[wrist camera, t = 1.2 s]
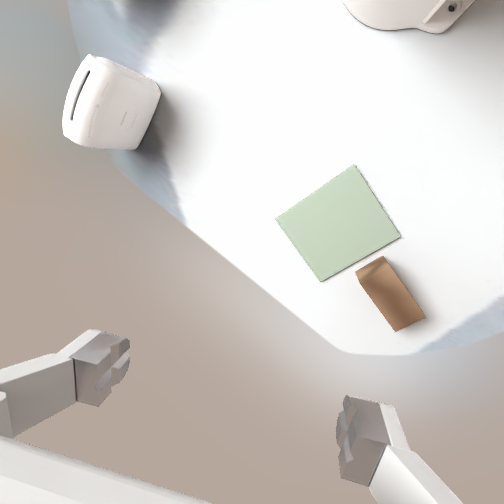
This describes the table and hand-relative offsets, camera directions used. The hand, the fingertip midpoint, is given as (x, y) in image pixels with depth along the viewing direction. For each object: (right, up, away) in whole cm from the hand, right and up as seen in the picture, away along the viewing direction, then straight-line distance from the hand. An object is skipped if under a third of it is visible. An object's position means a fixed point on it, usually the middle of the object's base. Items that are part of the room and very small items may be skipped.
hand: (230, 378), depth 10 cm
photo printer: (-16, +25, +31) cm, 43 cm away
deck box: (+21, -1, +33) cm, 39 cm away
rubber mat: (+13, +8, +31) cm, 35 cm away
